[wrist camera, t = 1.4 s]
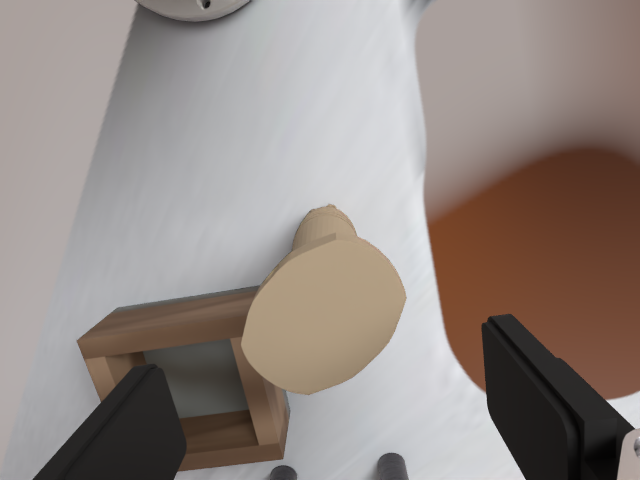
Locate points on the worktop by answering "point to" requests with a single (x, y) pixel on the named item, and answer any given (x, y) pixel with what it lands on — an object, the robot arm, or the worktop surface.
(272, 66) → the worktop surface
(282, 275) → the handle
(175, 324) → the socket
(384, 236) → the worktop surface
